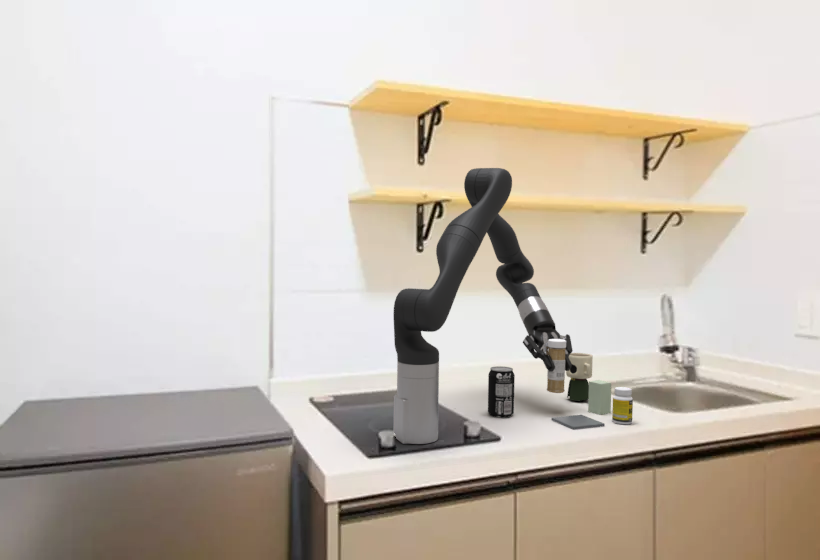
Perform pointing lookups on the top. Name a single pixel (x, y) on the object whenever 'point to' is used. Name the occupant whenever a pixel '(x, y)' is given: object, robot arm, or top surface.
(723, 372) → the top surface
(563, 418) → the slate coaster
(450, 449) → the top surface
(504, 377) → the beverage can
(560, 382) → the sprinkles bottle
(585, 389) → the character mug
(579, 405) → the top surface
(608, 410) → the sage block
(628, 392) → the supplement bottle
